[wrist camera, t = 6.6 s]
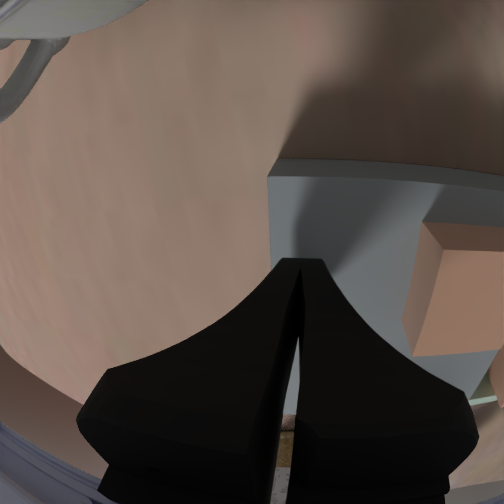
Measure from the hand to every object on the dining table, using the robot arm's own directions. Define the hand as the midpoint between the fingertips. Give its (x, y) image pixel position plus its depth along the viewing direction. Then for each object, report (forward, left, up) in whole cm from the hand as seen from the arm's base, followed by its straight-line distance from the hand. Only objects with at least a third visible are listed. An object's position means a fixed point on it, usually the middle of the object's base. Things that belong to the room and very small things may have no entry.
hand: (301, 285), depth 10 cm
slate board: (-4, +3, -4) cm, 6 cm away
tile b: (-6, 0, -1) cm, 6 cm away
